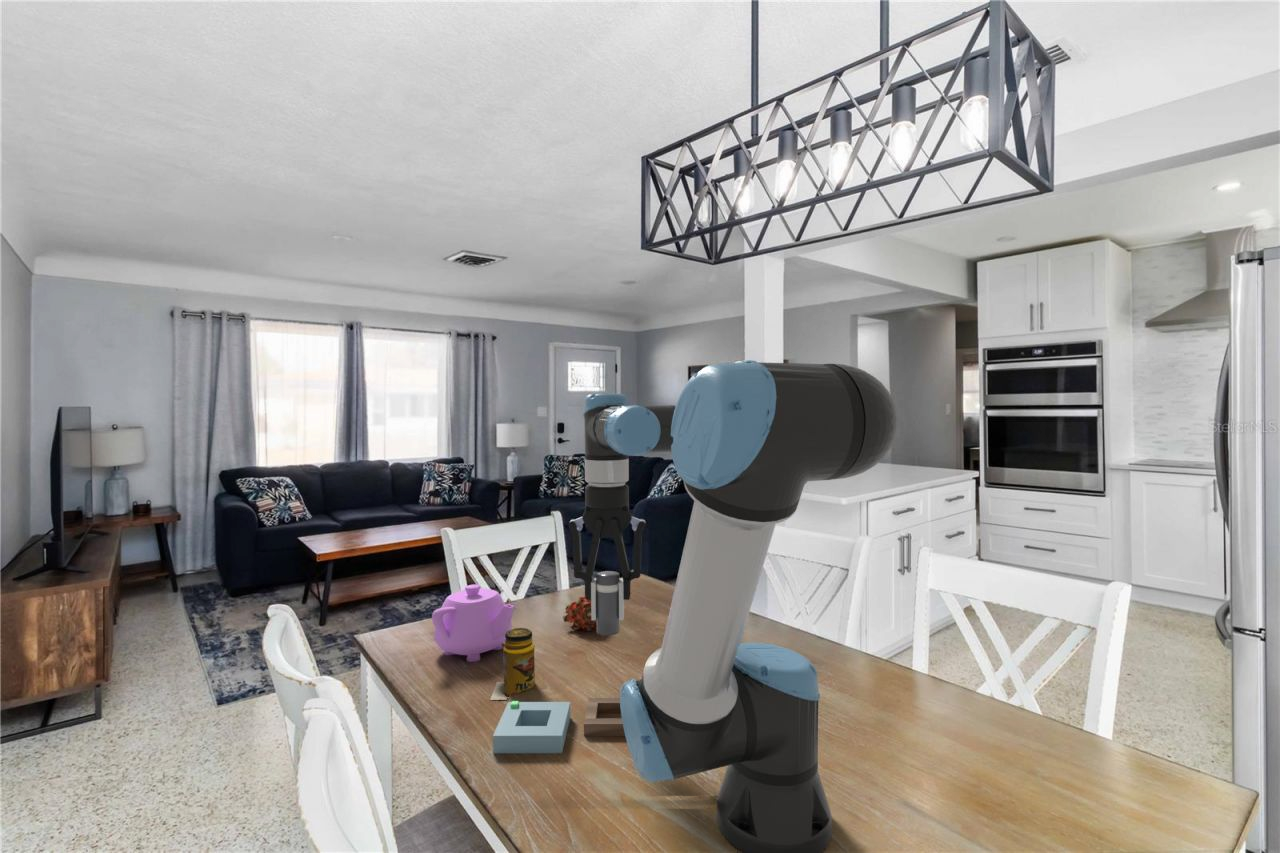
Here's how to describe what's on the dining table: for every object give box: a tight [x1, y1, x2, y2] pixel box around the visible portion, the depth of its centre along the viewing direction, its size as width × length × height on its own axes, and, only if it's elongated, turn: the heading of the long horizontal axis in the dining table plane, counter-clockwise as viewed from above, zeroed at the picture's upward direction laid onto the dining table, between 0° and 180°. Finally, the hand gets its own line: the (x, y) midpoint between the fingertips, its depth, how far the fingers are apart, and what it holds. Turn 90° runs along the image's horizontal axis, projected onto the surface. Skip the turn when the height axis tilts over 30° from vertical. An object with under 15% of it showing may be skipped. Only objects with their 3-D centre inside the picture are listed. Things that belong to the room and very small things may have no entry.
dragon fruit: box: [562, 596, 597, 631], centre depth 155 cm, size 8×8×12 cm
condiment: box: [489, 627, 536, 701], centre depth 121 cm, size 7×8×12 cm
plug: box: [595, 570, 621, 637], centre depth 106 cm, size 4×4×10 cm
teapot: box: [431, 584, 516, 663], centre depth 139 cm, size 20×20×15 cm
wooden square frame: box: [583, 697, 626, 737], centre depth 107 cm, size 9×9×3 cm
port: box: [492, 700, 571, 754], centre depth 103 cm, size 11×11×5 cm
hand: (608, 617), depth 106 cm, fingers closed on plug, 4 cm apart
